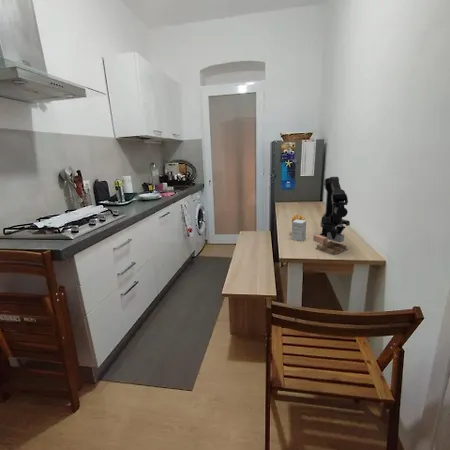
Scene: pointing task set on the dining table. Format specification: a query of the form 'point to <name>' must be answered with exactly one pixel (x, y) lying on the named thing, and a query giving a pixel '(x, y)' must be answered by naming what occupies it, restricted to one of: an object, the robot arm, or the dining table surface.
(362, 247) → the dining table surface
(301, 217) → the french fries
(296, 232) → the supplement box
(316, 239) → the tall terracotta pillar
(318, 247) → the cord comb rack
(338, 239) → the tall slate pillar
